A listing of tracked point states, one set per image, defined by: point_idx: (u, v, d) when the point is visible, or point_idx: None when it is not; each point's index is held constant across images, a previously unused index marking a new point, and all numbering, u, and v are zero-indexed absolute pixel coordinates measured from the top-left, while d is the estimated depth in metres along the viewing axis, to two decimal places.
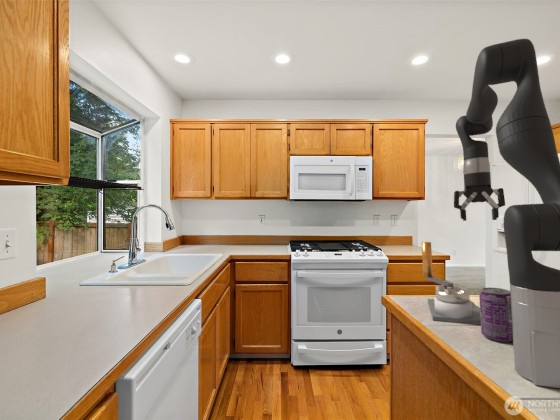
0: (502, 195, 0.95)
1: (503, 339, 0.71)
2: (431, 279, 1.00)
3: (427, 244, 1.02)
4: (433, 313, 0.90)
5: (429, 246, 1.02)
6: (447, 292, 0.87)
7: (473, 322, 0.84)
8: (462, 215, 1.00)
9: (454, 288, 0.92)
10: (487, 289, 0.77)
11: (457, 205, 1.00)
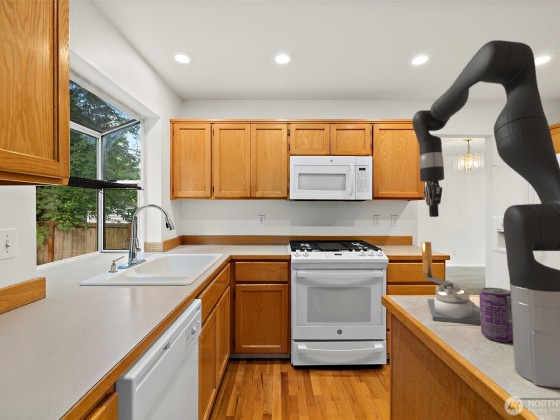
0: None
1: (503, 339, 0.71)
2: (431, 279, 1.00)
3: (427, 244, 1.02)
4: (433, 313, 0.90)
5: (429, 246, 1.02)
6: (447, 292, 0.87)
7: (473, 322, 0.84)
8: None
9: (454, 288, 0.92)
10: (487, 289, 0.77)
11: None
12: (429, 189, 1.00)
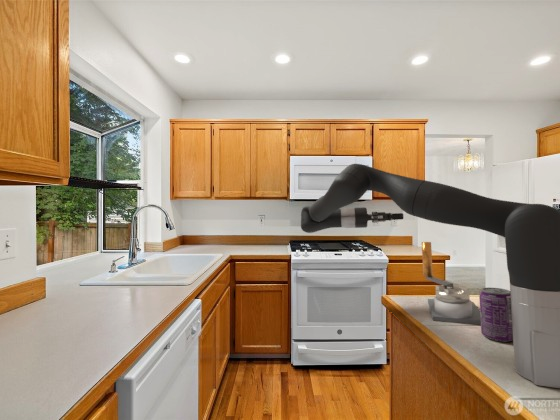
0: None
1: (503, 339, 0.71)
2: (431, 279, 1.00)
3: (427, 244, 1.02)
4: (433, 313, 0.90)
5: (429, 246, 1.02)
6: (447, 292, 0.87)
7: (473, 322, 0.84)
8: (398, 214, 1.05)
9: (454, 288, 0.92)
10: (487, 289, 0.77)
11: (388, 213, 1.05)
12: (376, 221, 1.06)
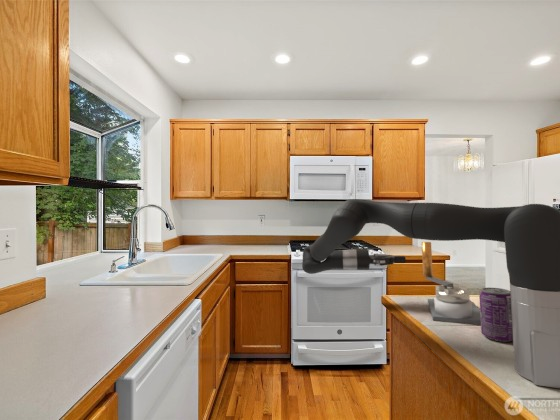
0: None
1: (503, 339, 0.71)
2: (431, 279, 1.00)
3: (427, 244, 1.02)
4: (433, 313, 0.90)
5: (429, 246, 1.02)
6: (447, 292, 0.87)
7: (473, 322, 0.84)
8: (400, 257, 1.05)
9: (454, 288, 0.92)
10: (487, 289, 0.77)
11: (390, 256, 1.04)
12: (378, 264, 1.05)
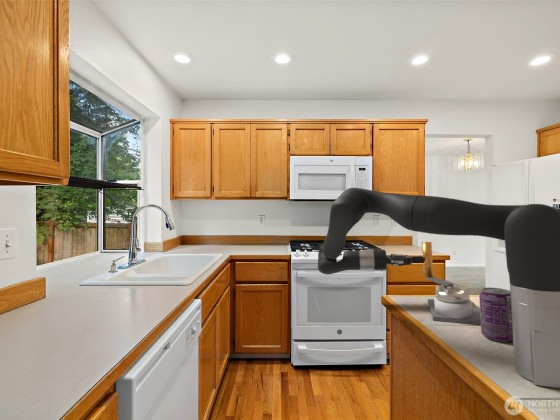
0: None
1: (503, 339, 0.71)
2: (431, 279, 1.00)
3: (427, 244, 1.02)
4: (433, 313, 0.90)
5: (429, 246, 1.02)
6: (447, 292, 0.87)
7: (473, 322, 0.84)
8: (418, 258, 1.03)
9: (454, 288, 0.92)
10: (487, 289, 0.77)
11: (408, 257, 1.03)
12: (396, 264, 1.04)
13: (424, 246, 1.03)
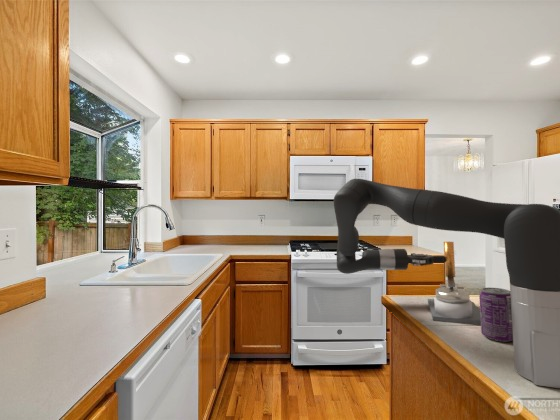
0: None
1: (503, 339, 0.71)
2: None
3: (447, 244, 1.01)
4: (433, 313, 0.90)
5: (449, 246, 1.01)
6: (440, 290, 0.89)
7: (473, 322, 0.84)
8: (439, 257, 1.02)
9: (458, 289, 0.91)
10: (487, 289, 0.77)
11: (430, 256, 1.01)
12: (417, 264, 1.03)
13: (444, 246, 1.02)
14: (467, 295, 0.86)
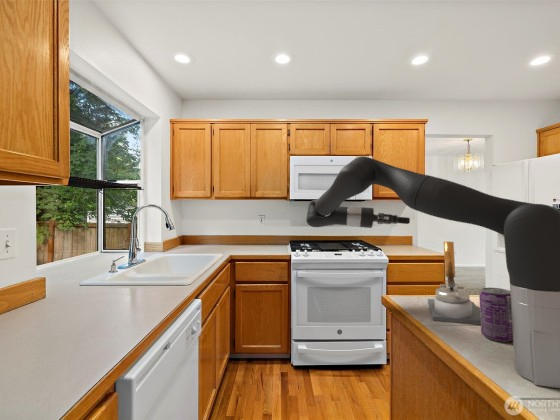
0: None
1: (503, 339, 0.71)
2: None
3: (447, 244, 1.01)
4: (433, 313, 0.90)
5: (449, 246, 1.01)
6: (440, 290, 0.89)
7: (473, 322, 0.84)
8: (404, 218, 1.05)
9: (458, 289, 0.91)
10: (487, 289, 0.77)
11: None
12: (382, 222, 1.06)
13: (444, 246, 1.02)
14: (467, 295, 0.86)
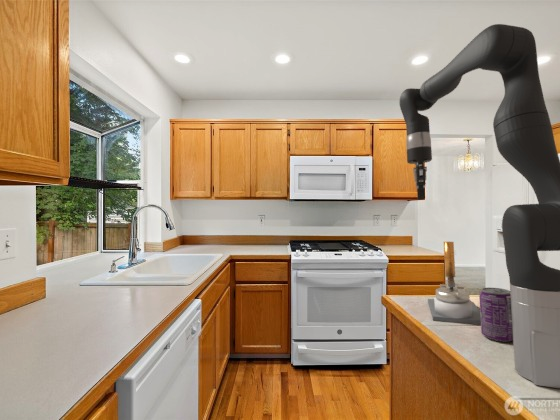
0: None
1: (503, 339, 0.71)
2: None
3: (447, 244, 1.01)
4: (433, 313, 0.90)
5: (449, 246, 1.01)
6: (440, 290, 0.89)
7: (473, 322, 0.84)
8: (423, 193, 0.96)
9: (458, 289, 0.91)
10: (487, 289, 0.77)
11: None
12: (415, 171, 0.97)
13: (444, 246, 1.02)
14: (467, 295, 0.86)
